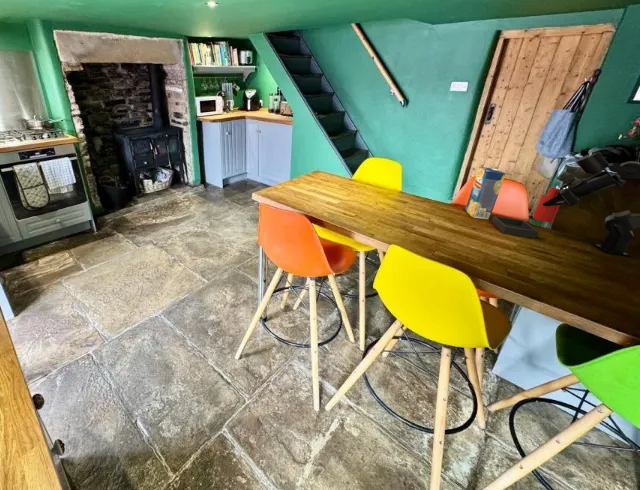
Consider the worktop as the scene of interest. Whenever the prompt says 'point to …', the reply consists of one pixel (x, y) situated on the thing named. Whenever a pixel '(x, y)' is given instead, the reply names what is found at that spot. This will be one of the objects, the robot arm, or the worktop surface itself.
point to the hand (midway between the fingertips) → (544, 203)
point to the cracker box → (484, 192)
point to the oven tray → (514, 227)
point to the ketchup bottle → (546, 207)
